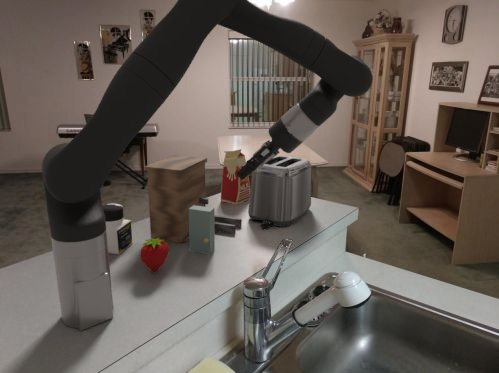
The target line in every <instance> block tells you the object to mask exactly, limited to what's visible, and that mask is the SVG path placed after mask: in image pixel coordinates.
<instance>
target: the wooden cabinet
mask: <svg viewBox="0 0 499 373" xmlns="http://www.w3.org/2000/svg"><path fill="white" fill-rule="evenodd" d="M206 163H208V158H207V157H202V156H201V157H200V156H189V155H187V156H186V155H179V154H174V155H171V156H169V157H166V158H164V159H163V158H162V159H161V160H158V161H156V162H153V163H150V164H148V165H145V166H144V171H145V172H146V173H147V188H148V191H147V192H148V193H147V194H148V206H149V207H148V209H149V227H150V228H149V230H150V239H151V238H153V239H157V238H159V237H160V238H159V239H158V240H164V242H165V241H167V242H173V243H176V244H177V243H179V244H183V243H184V242H186V241H187V240H188V239H189V208H190V207H192V206H193V205H195V206H203V207H206V205H208V204H209V198H207V197H206ZM242 223H243V219H242V218H240V217H232V216H226V215H215V232H219V233H226V234H233V235H235V234H236V232H237V230H236V228H242Z"/></svg>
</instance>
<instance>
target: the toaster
mask: <svg viewBox="0 0 499 373" xmlns="http://www.w3.org/2000/svg"><path fill="white" fill-rule="evenodd" d="M311 206H312V164H311V161H310V160H309V159H305V158H301V157H296V156H295V157H294V156H289V155H280V154H277V155H276V156H275V157H274V158H273V159H270V160H269V161H268V162H266V163H265V164H264V165H263V166H261V165H260V166H259V167H258V168H257V169H256V170H255V171H252V178H251V188H250V199H249V200H248V208H247V209H248V211H247V212H248V217H249V218H250V219H251V220H252V221H255V220H259V221H261V226H260V228H261V229H262V230H264V229H266V230H267V229H269V228H270V227H273V226H275V227H288V226H289V225H291V224H293V223H294V222H295V221H296V220H297V219H299V218H301V217H302V216H303V215H304V214H305V213H307V212H308V211H309V209H310V207H311Z"/></svg>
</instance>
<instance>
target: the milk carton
mask: <svg viewBox="0 0 499 373" xmlns="http://www.w3.org/2000/svg"><path fill="white" fill-rule="evenodd" d="M223 152H224V153H225V154H224V158H223V166H222V175H221V176H222V177H221V184H220V185H221V187H220V202H224V203H228V204H231V203H232V204H231V205H235V204H236V205H235V206H238V205H240V203H241V204H243V203H245V202H244V201H246V200H248V201H249V199H250V184H249V177H248V176H247V177H246V178H244V179H243V180H241V179H240V178H239V177H238V176H237V172H238V171H239V170H240V169H241V168H242V167H243V166H245V165H246V162H247V159H246V155H245V154H244V153H242V148H241V149H236V150H225V151H223ZM242 202H243V203H242ZM246 202H247V201H246ZM237 204H238V205H237Z"/></svg>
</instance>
